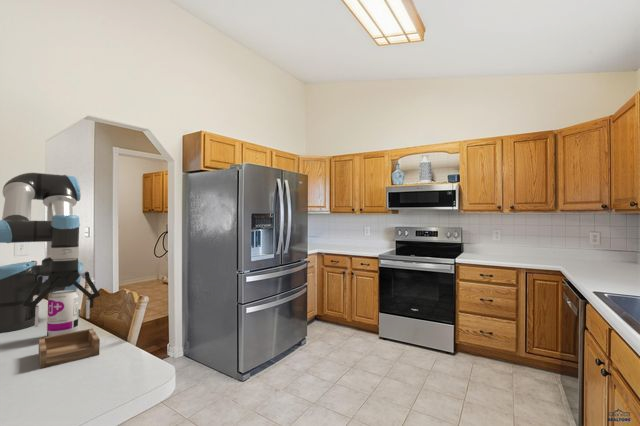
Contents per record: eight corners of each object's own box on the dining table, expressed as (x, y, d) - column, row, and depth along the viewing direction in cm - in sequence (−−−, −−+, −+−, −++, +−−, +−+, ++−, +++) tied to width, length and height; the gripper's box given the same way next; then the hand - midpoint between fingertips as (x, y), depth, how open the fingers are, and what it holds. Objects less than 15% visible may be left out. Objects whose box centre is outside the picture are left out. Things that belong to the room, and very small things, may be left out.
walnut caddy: (38, 353, 93) (39, 338, 93) (92, 342, 102) (92, 328, 102) (40, 368, 83) (40, 351, 84) (99, 354, 92) (99, 339, 92)
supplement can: (60, 341, 102) (61, 295, 103) (40, 339, 104) (41, 294, 104) (83, 333, 110) (84, 290, 111) (64, 331, 112) (65, 289, 112)
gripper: (14, 263, 97) (11, 333, 96) (109, 257, 114) (108, 316, 113) (14, 261, 102) (12, 327, 101) (105, 256, 119) (104, 312, 118)
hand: (63, 321), depth 107 cm, fingers open, 13 cm apart
